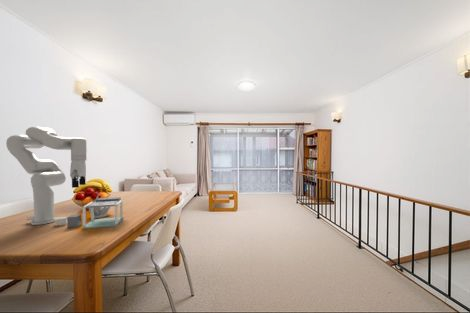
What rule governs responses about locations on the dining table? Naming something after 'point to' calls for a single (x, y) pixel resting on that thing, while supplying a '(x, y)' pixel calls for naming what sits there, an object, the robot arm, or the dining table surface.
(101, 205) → the trapdoor
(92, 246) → the dining table surface
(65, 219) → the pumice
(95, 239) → the dining table surface
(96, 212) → the crystal
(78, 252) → the dining table surface
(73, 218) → the basalt stone
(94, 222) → the frame
